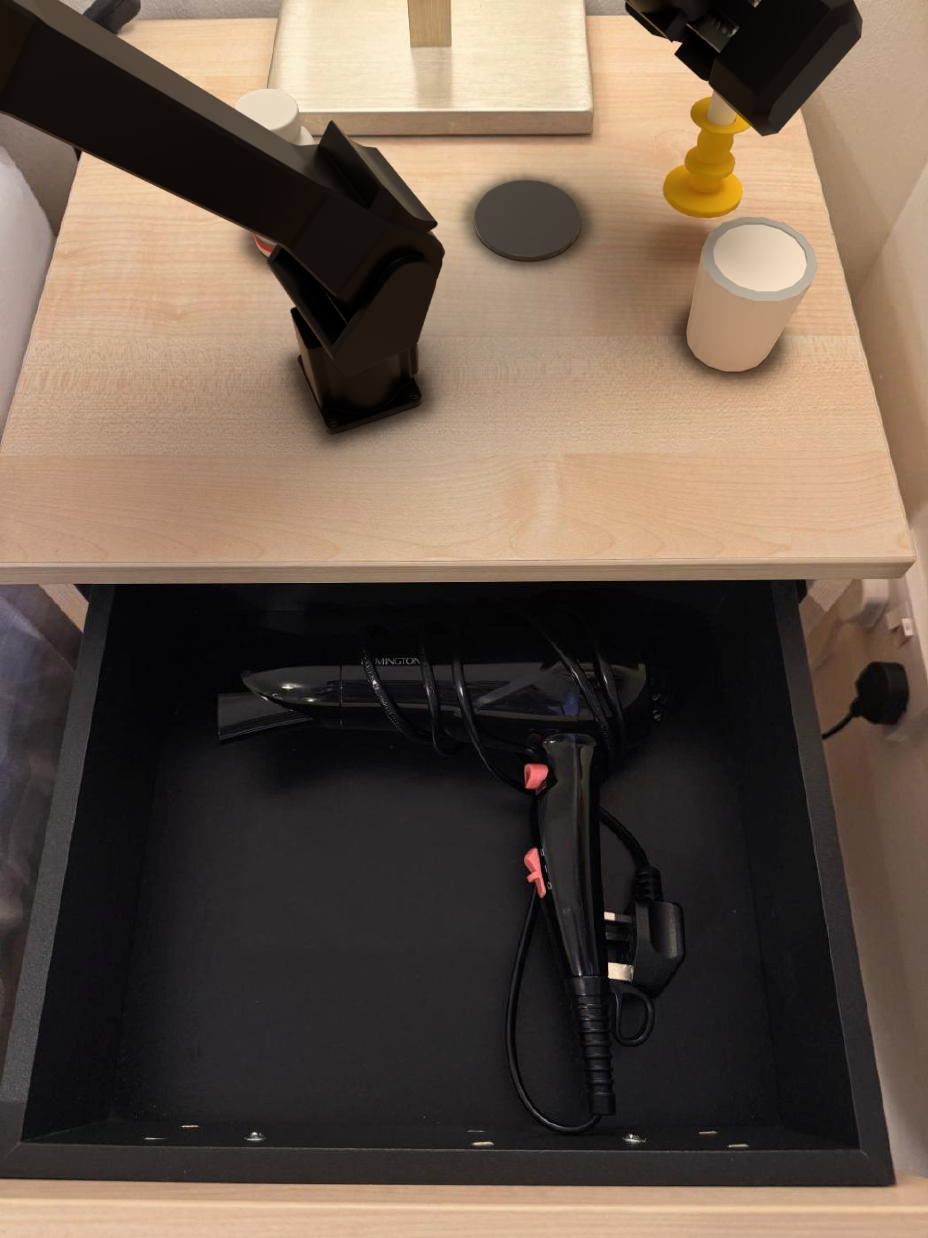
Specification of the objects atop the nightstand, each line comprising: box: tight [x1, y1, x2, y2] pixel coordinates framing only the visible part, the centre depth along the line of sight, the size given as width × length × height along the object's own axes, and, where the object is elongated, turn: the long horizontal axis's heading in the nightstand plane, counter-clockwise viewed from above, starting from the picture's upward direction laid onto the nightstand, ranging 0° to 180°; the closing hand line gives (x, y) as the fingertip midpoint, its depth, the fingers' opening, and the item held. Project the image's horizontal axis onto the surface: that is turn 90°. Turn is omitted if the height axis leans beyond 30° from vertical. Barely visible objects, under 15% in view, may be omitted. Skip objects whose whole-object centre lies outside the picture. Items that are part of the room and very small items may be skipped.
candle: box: [662, 89, 751, 219], centre depth 52 cm, size 5×5×16 cm
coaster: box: [473, 179, 581, 262], centre depth 63 cm, size 8×8×1 cm
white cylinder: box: [685, 216, 819, 372], centre depth 56 cm, size 7×7×7 cm
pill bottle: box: [233, 88, 316, 258], centre depth 58 cm, size 5×5×10 cm
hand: (747, 52), depth 52 cm, fingers closed on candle
